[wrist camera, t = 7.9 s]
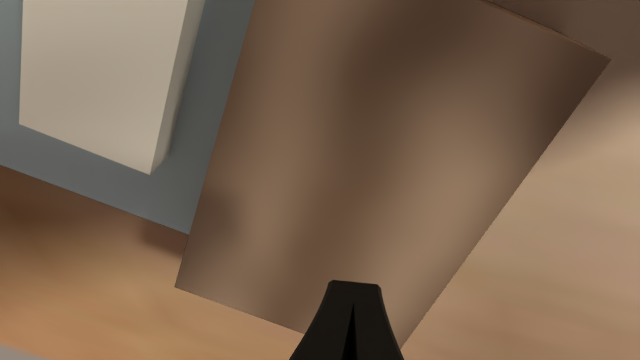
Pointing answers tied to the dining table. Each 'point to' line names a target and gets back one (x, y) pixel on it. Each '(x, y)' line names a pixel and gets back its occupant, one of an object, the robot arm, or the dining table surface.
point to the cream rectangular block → (107, 74)
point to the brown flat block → (373, 149)
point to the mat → (112, 177)
